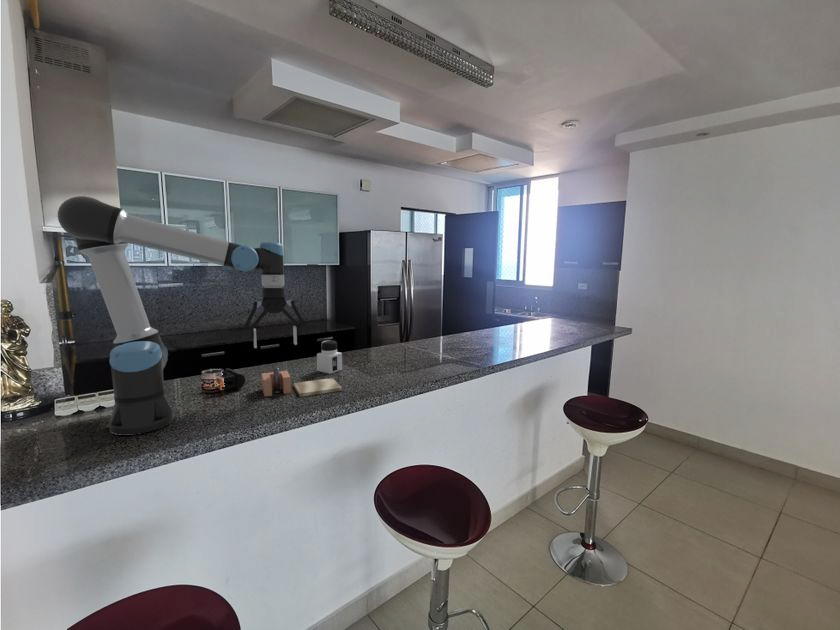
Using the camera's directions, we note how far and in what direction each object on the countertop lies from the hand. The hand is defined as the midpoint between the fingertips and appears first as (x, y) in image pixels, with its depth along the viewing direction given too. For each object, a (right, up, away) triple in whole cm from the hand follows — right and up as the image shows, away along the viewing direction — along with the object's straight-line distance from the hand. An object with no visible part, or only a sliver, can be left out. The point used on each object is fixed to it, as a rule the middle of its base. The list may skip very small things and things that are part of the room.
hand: (275, 345), depth 139 cm
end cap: (-18, -17, +4) cm, 25 cm away
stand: (0, -17, 0) cm, 17 cm away
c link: (0, -17, +2) cm, 17 cm away
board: (+14, -16, +5) cm, 22 cm away
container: (+13, -13, +29) cm, 34 cm away
